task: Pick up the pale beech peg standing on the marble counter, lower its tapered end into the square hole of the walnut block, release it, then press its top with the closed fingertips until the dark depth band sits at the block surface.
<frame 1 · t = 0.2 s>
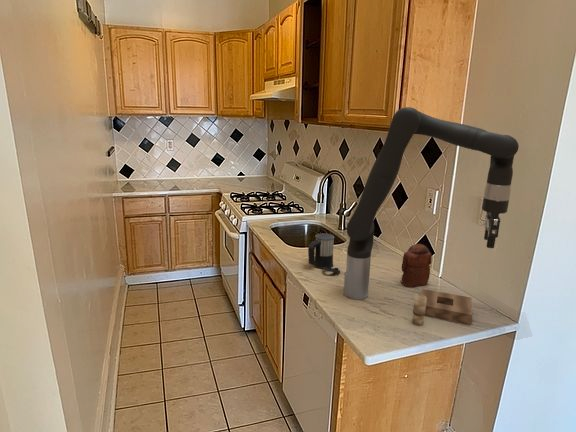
hand: (488, 243, 132), 29 cm above the worktop, fingers open, 8 cm apart
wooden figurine: (413, 284, 167), on the worktop
beech peg: (417, 322, 136), on the worktop
milk frother: (327, 269, 182), on the worktop
walnut block: (443, 310, 145), on the worktop
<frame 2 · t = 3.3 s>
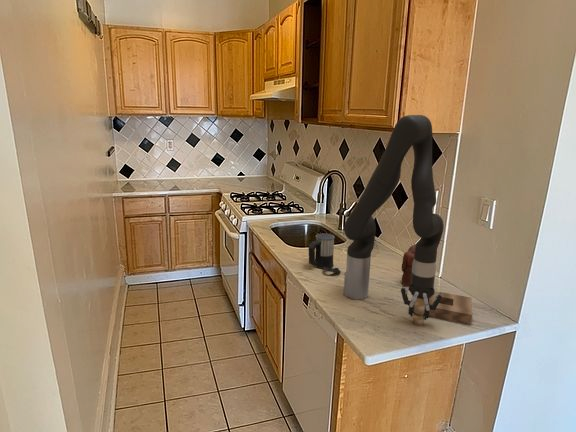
hand: (418, 316, 136), 2 cm above the worktop, fingers closed on beech peg, 4 cm apart
beech peg: (417, 322, 136), on the worktop, touching gripper
everything else where it was.
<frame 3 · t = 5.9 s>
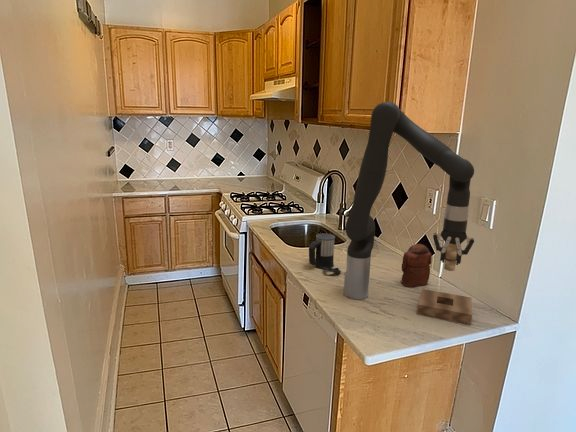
hand: (450, 262, 139), 19 cm above the worktop, fingers closed on beech peg, 4 cm apart
beech peg: (449, 268, 140), point 17 cm above the worktop, touching gripper
everything else where it was.
when the fingers open (5 cm above the worktop, at t = 8.2 s): beech peg drops 3 cm, resting in walnut block.
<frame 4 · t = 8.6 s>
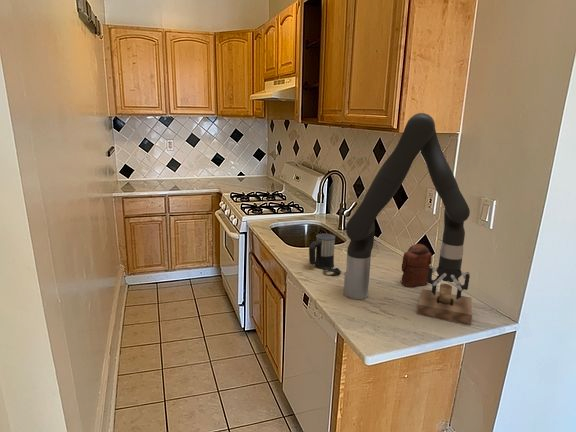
hand: (445, 296, 143), 6 cm above the worktop, fingers open, 7 cm apart
beech peg: (443, 310, 145), resting in walnut block
everything else where it was.
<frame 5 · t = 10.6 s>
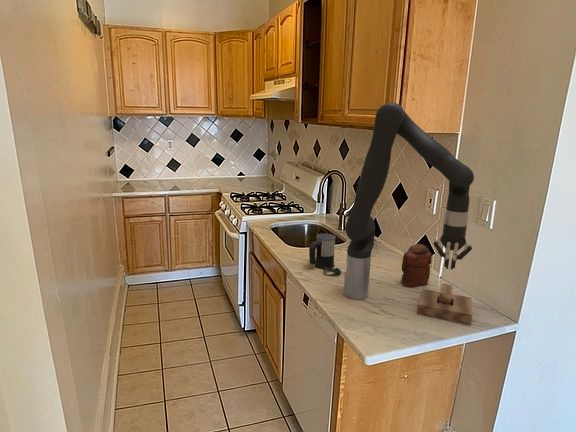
hand: (449, 268, 140), 17 cm above the worktop, fingers closed
nothing on the worktop moved.
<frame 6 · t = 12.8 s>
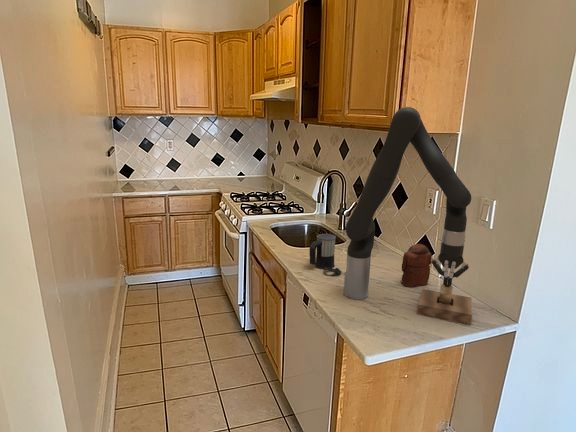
hand: (447, 286, 142), 10 cm above the worktop, fingers closed
beech peg: (443, 310, 145), resting in walnut block, touching gripper
everything else where it was.
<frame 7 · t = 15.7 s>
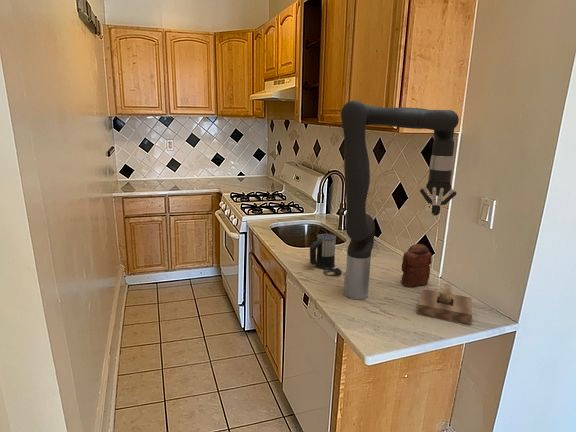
hand: (435, 214, 142), 35 cm above the worktop, fingers closed
beech peg: (443, 310, 145), resting in walnut block
everything else where it was.
at the end: beech peg 0.1 cm off-centre on the walnut block, point 0.0 cm above the walnut block's base; beech peg tilted 0°; the gripper is holding nothing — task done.
